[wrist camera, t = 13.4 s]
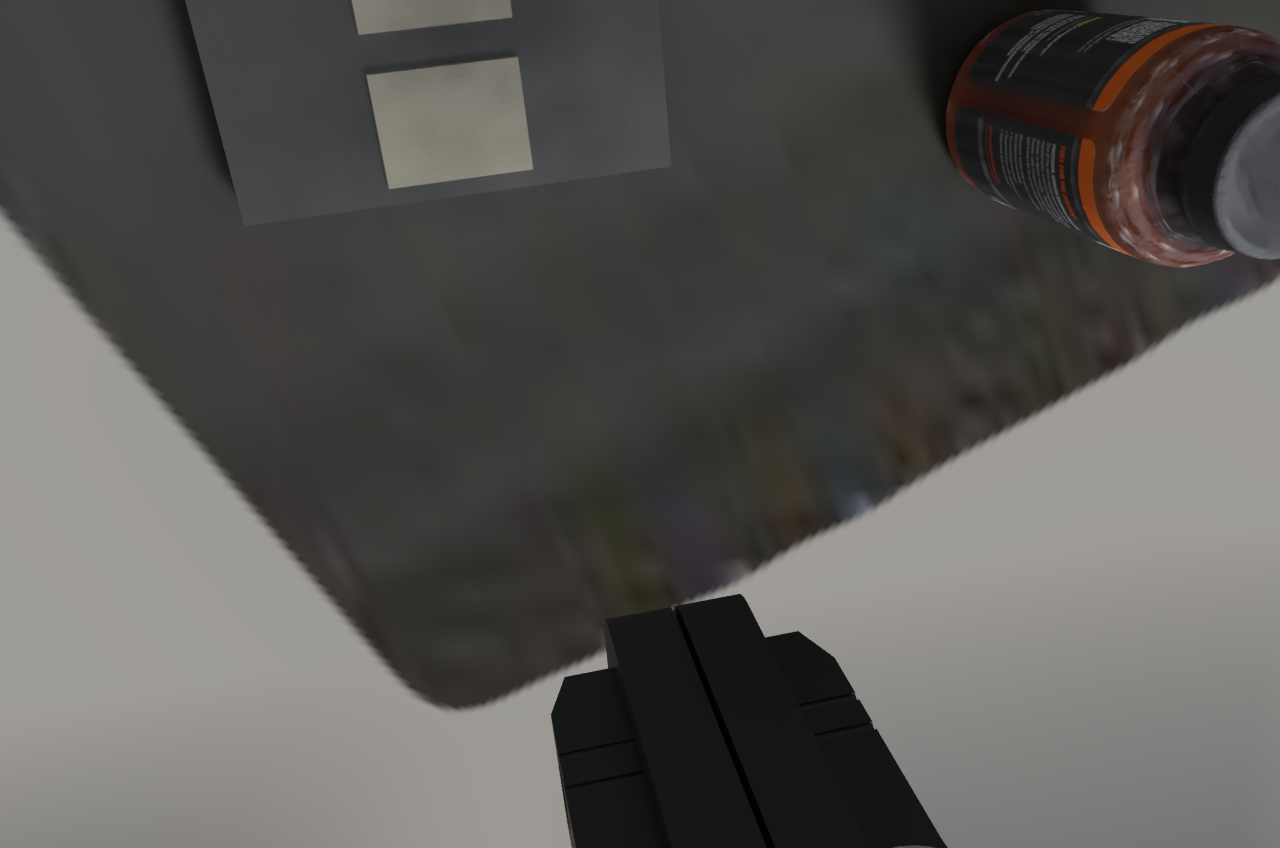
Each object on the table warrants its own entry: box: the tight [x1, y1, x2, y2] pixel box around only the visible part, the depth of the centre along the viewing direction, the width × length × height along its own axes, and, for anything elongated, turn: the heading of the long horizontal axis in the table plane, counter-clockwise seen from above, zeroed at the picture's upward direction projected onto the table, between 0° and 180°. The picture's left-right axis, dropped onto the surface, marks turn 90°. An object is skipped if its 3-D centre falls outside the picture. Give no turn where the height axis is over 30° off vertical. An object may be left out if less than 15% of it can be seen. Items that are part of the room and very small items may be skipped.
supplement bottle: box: [945, 9, 1280, 267], centre depth 28 cm, size 6×6×11 cm
